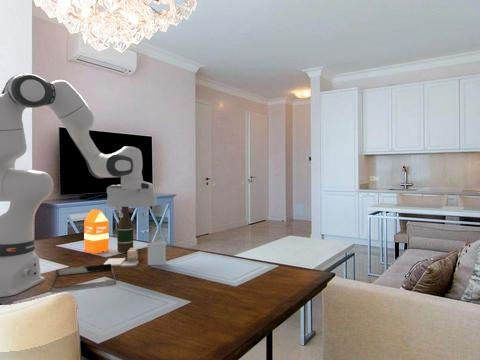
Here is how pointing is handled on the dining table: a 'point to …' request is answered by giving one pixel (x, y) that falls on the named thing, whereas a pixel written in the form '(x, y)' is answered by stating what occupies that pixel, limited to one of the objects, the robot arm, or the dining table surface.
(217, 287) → the dining table surface
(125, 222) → the beer bottle
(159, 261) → the tile
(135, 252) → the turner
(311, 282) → the dining table surface
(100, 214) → the orange juice
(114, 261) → the mat
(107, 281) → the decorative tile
